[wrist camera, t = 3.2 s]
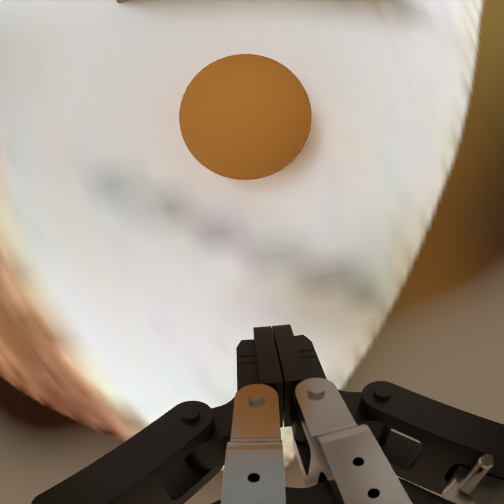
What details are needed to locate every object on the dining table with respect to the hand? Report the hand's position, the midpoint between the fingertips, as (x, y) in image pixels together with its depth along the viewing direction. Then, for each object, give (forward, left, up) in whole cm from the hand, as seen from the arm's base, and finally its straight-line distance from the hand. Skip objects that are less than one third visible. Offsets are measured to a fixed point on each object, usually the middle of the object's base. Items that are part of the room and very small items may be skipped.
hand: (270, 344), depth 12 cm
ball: (0, +9, -4) cm, 10 cm away
